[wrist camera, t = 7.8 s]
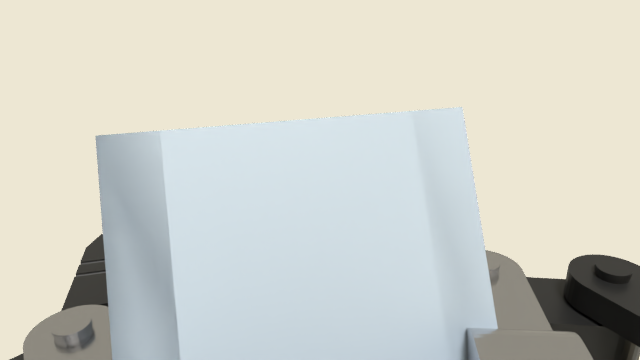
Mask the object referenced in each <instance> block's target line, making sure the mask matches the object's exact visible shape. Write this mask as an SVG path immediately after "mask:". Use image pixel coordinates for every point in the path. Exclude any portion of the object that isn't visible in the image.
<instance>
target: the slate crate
mask: <svg viewBox="0 0 640 360" xmlns="http://www.w3.org/2000/svg"><path fill="white" fill-rule="evenodd" d="M96 146H97V147H96V148H97V160H98V174H99V188H100V201H101V213H102V227H103V241H104V254H105V268H106V281H107V294H108V308H109V321H110V335H111V348H112V360H467V346H466V328H493V329H498V326H497V320H496V314H495V308H494V301H493V295H492V289H491V283H490V277H489V270H488V264H487V258H486V252H485V246H484V239H483V233H482V227H481V221H480V214H479V208H478V202H477V196H476V190H475V183H474V177H473V171H472V165H471V159H470V152H469V147H468V140H467V134H466V128H465V121H464V115H463V109H462V107H458V108H445V109H432V110H419V111H407V112H395V113H383V114H368V115H356V116H343V117H330V118H317V119H305V120H292V121H280V122H266V123H253V124H242V125H241V124H240V125H227V126H215V127H202V128H189V129H176V130H164V131H150V132H137V133H125V134H112V135H99V136H96Z"/></svg>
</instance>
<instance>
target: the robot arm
mask: <svg viewBox="0 0 640 360" xmlns="http://www.w3.org/2000/svg"><path fill="white" fill-rule="evenodd" d="M485 252H486V258H487V264H488V270H489V277H490V283H491V289H492V295H493V301H494V308H495V314H496V320H497V326H498V329H493V328H466V346H467V360H639V356H640V266H638V265H636V264H634V263H631V262H629V261H626V260H623V259H619V258H616V257H611V256H605V255H585V256H580V257H577V258H575V259H573V260H572V261H571V262H570V264H569V266H568V272H567V277H566V279H548V278H531V277H526V276H525V274H524V272H523V271H522V269H521V267H520V266H519V265H518V264H517V263H516V262H514V261H513V260H511V259H510V258H508V257H506V256H504V255H501V254H498V253H495V252H491V251H486V250H485ZM23 352H24V353H23V354H21V355H19V356H17V357H15V358H12V359H10V360H112V348H111V335H110V321H109V308H108V294H107V281H106V268H105V254H104V241H103V234H101V235H100V236H99V237H98V238H97V239H96V240H94V241H93V242H92V243H91V244H90V245H89V246H88V247H87V248H86V250H85V252H84V255H83V257H82V260H81V265H79V267H78V270H77V273H76V277H74V280H73V283H72V285H71V288H70V290H69V293H68V295H67V298H66V300H65V303H64V306H63V308H62V311H60V312H58V313H56V314H54V315H52V316H50V317H48V318H46V319H45V320H43V321H42V322H40V323H39V324H38V325H37V326H35V327H34V328H33V329H32V330H31V331H30V333H29V334H28V335H27V337H26V339H25V341H24V345H23Z"/></svg>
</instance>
